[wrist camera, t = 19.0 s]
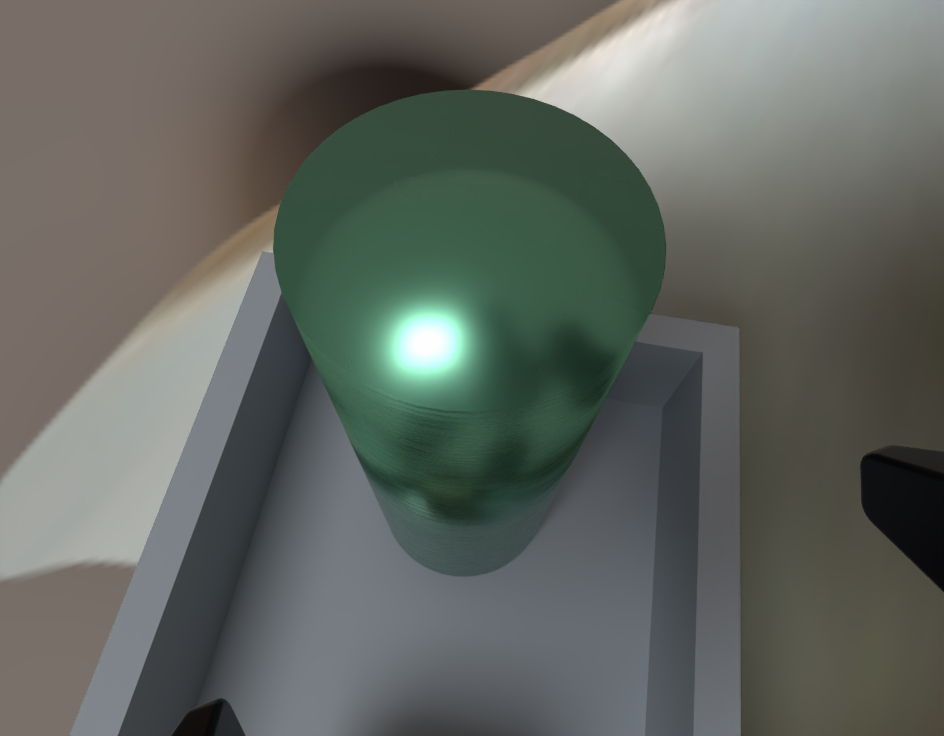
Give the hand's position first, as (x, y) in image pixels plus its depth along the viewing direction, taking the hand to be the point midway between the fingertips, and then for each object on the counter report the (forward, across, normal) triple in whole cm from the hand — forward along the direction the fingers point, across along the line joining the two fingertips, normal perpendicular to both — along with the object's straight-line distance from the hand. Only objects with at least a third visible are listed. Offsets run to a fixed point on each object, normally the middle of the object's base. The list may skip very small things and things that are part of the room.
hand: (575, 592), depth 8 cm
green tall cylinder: (+11, 0, +4) cm, 12 cm away
